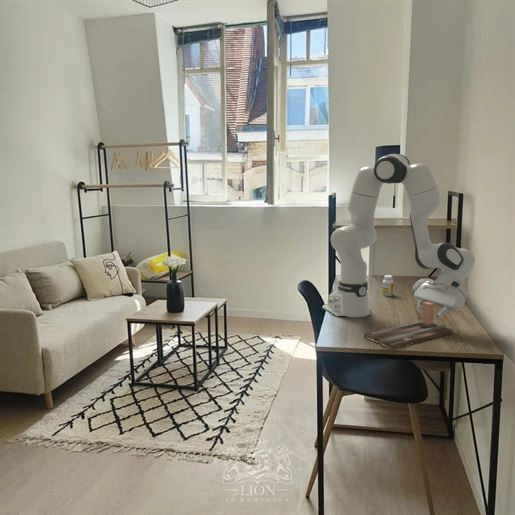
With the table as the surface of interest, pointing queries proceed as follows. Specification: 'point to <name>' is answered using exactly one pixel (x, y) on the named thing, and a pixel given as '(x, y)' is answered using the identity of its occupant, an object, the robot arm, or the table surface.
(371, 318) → the table surface
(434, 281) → the sea urchin shell
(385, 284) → the supplement bottle
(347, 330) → the table surface
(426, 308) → the fader tab
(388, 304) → the table surface
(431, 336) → the track board
